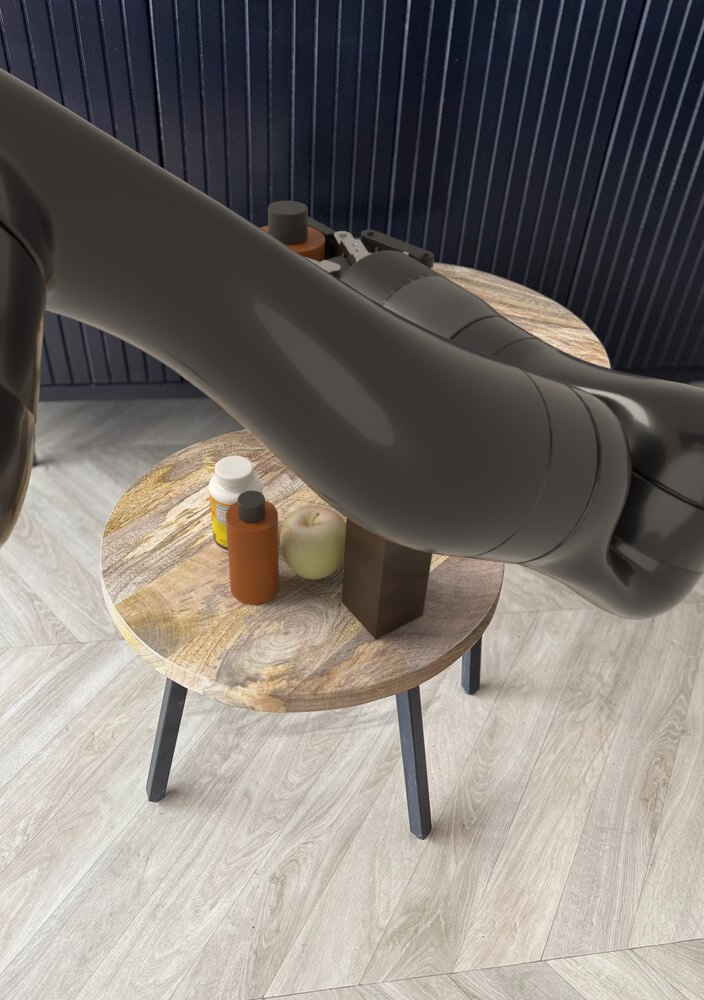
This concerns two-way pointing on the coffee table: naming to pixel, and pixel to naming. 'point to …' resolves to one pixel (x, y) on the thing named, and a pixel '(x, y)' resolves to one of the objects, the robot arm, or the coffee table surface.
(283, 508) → the coffee table surface
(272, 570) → the amber bottle
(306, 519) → the fruit
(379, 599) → the pedestal
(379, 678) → the coffee table surface
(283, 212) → the amber bottle
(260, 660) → the coffee table surface
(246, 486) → the supplement bottle
